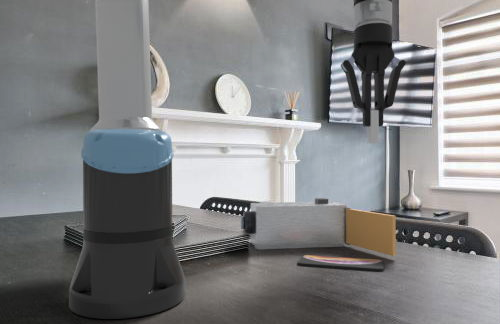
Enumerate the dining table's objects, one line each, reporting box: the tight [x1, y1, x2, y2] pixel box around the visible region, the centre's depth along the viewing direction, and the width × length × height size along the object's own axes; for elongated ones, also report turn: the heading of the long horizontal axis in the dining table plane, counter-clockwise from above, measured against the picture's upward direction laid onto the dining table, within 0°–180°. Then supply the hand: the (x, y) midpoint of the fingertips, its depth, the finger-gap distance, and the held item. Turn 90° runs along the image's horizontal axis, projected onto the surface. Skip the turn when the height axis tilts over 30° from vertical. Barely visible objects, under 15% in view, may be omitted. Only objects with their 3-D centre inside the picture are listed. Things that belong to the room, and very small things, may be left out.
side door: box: [346, 206, 397, 257], centre depth 82 cm, size 14×2×8 cm, turn 27°
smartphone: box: [296, 254, 385, 273], centre depth 73 cm, size 8×1×15 cm
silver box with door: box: [240, 197, 348, 250], centre depth 90 cm, size 23×8×10 cm, turn 98°
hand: (372, 142), depth 82 cm, fingers closed
